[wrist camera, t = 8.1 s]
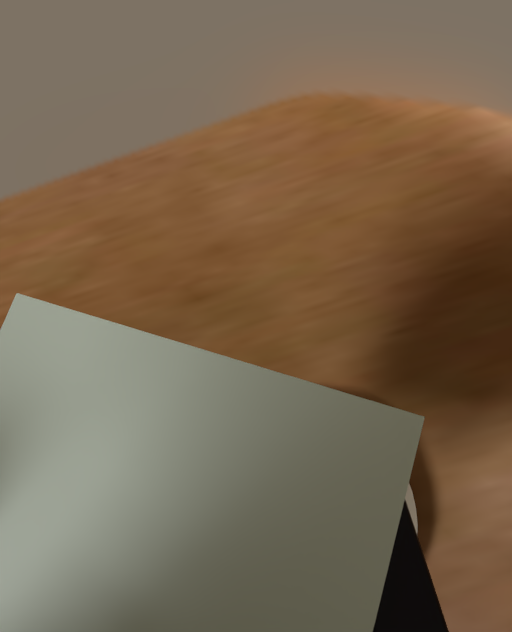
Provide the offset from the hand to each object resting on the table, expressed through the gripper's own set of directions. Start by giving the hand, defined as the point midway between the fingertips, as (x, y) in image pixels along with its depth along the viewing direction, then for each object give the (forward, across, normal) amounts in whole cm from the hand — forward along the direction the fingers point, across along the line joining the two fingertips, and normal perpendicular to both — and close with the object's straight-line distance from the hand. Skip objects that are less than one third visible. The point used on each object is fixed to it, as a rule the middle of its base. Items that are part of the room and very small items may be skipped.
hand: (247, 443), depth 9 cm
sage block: (+4, 0, +6) cm, 7 cm away
